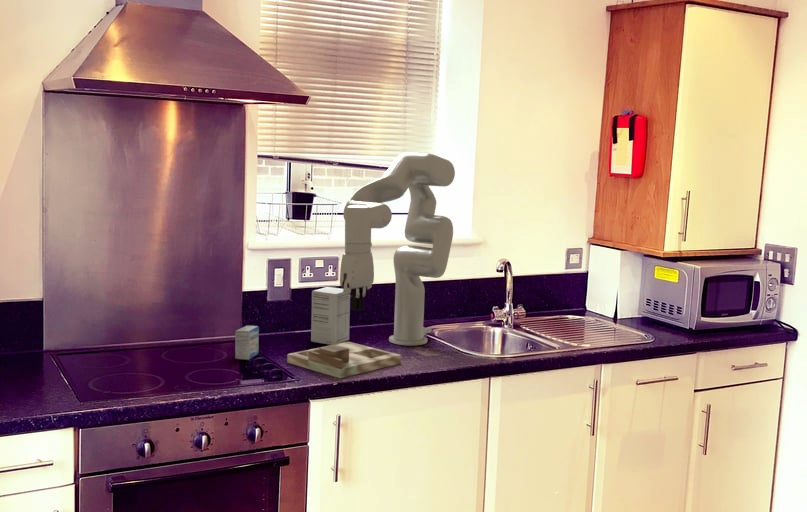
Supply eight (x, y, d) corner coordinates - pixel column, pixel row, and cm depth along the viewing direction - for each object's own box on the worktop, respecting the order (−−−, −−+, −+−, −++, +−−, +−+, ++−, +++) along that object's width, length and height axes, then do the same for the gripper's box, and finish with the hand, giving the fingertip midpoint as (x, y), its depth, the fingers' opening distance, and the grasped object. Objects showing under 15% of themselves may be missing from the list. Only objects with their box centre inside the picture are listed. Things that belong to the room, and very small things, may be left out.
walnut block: (333, 358, 254) (334, 344, 254) (348, 362, 250) (349, 348, 250) (318, 361, 250) (319, 348, 249) (334, 365, 246) (334, 351, 245)
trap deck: (348, 349, 276) (348, 333, 275) (400, 363, 261) (401, 346, 261) (287, 362, 257) (287, 345, 257) (340, 378, 243) (340, 360, 242)
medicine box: (249, 360, 258) (249, 331, 257) (234, 359, 259) (235, 330, 258) (258, 354, 266) (259, 326, 265) (244, 352, 267) (245, 324, 266)
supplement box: (325, 336, 293) (327, 286, 290) (349, 340, 288) (351, 289, 286) (309, 341, 284) (311, 290, 282) (334, 345, 280) (335, 293, 278)
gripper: (366, 243, 262) (366, 303, 265) (330, 249, 251) (330, 312, 254) (385, 246, 257) (384, 308, 261) (348, 252, 246) (348, 316, 250)
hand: (357, 310), depth 258 cm, fingers closed
